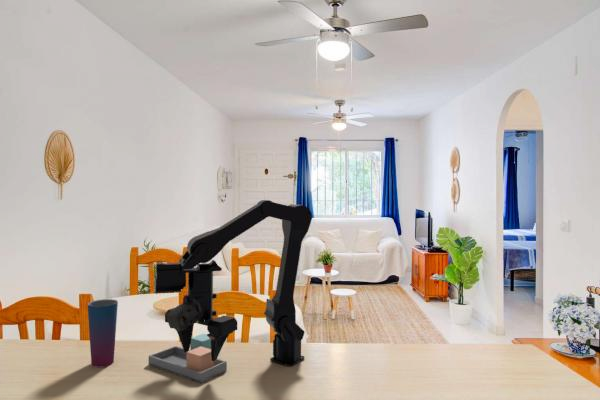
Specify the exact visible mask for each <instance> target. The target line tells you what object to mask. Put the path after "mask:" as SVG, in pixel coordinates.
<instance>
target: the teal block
mask: <svg viewBox="0 0 600 400" xmlns="http://www.w3.org/2000/svg"><path fill="white" fill-rule="evenodd" d="M207 334H208V333H201V334H197V335H196V336H192V338H191V344H190V348H189V350H193V349H195V348H198V347H200V346H201V347H205V348H208V349H211V339H210V338H209V337H208V336H207Z"/></svg>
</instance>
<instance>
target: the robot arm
mask: <svg viewBox="0 0 600 400" xmlns="http://www.w3.org/2000/svg"><path fill="white" fill-rule="evenodd" d="M268 217H270V218H273V219H278V220H281V222H282V223H281V227H282V232H283V245H282V251H281V256H280V257H281V258H280V264H279V271H278V275H277V277H278V278H277V282H276V288H275V289H276V290H275V292H274V295H273V297H272V299H269V298H267V299H266V301H265V310H264V312H263V314H264V316H265V320H266V323H268V325H269V326H270V327H271V328H272V330H273V332H274V333H275V334H274V335H273V338H274V339H273V340H272V355H273V356H272V357H271V358H270V359H269V360H270V361H271V362H274V363H278V364H282V365H284V366H285V365H286V366H289V367H292V366H294V365H297V364H298V363H299V362H300V361H303V360H304V359H305V356H304V355H302V340H303V338H304V335H305V330H304V329H302V327H300V326H299V325H298V324H297V323H296V322H297V321H296V318H297V317H296V315H297V313H296V311H297V310H296V305H295V300H294V295H295V294H294V293H295V287H296V281H297V275H298V268H299V262H300V255H301V250H302V243H303V240H304V239H305V237H306V235H307V233H308V232H309V228H310V226H311V224H312V220H313V213H312V211H311V210H310V208H309V207H307V206H306V205H301V204H289V205H285V204H282V203H277V202H273V201H272V200H269V199H262V200H259V201H258V202H257V204H254V205H253V206H252V207H250V208H249V209H247V210H245V211H244V212H242V213H240V214H239V215H237V216H236V217H234V218H232V219H231V220H229V221H227V222H226V223H224V224H223V225H221V226H219V227H217V228H215V229H211V230H210V231H206V232H203V233H201V234H198V235H196V236H193V237H192V238H191V239H189V241H188V242H187V245H186V251H185V252H184V254H183V255H182V256H181V258H180V259H179V260H178V262H168V263H167V262H166V263H165V262H156V263H155V273H154V274H155V275H154V276H153V277H154V283H153V285H154V294H169V293H180V292H182V290H184V288H186V287H187V294H185V295H183V298H182V303H181V304H180V305H179V304H178V305H176V307H173V308H169V309H167V311H166V312H165V314H164V322H165V323H168V326H169V328H170V329H174V330H175V331H176V333H177V335H178V338H179V340H180V344H181V348H183V350H184V352H185V353H186V352H188V351H189V350H190V348H191V338H192V337H193V330H194V326H195V325H194V324H198V325H203V326H207V327H206V328H207V332H208V333H206V334H207V336H208V337H209V338H210V339H211V357H212V361H215V360H216V359H218V357H219V355H220V353H221V351H222V349H223V346H224V344H225V342H226V341H227V339H228V337H229V336H230V334H233V333H234V332H235V331H237V330H238V320H237V318H235V317H232V316H228V315H221V316H218V317H214V316H217V310H215V309H213V307H214V305H213V302H214V299H217V293H214V272H219V271H220V272H221V271H222V270H223V269H222V267H221V266H220V265H218V263H217V262H216V261H215V260H214V258H215V257H216V256H217V255H218V254H219V253H220V252H221V251H222V250H223V249H224V248H225V246H226V245H228V243H230V242H231V241H232V240H235V238H237V237H238V236H240V235H242V234H243V233H245V232H246V231H248V230H250V229H251V228H253V227H255V226H256V225H257V224H259V223H260V222H262V221H264V220H265V219H267V218H268ZM187 280H188V281H187ZM213 317H214V318H213Z"/></svg>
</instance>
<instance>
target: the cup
mask: <svg viewBox="0 0 600 400" xmlns="http://www.w3.org/2000/svg"><path fill="white" fill-rule="evenodd" d="M118 305H119V301H118V300H117V299H111V298H110V299H108V298H107V299H106V298H104V299H96V300H92V301H89V302H88V303H87V314H88V315H87V318H88V330H89V331H88V332H89V335H88V336H89V349H90V362H91V366H92V367H93V368H94V367H95V368H103V367H108V366H110V365H113V363H114V362H115V347H116V335H117V334H116V333H117V320H118V319H117V318H118V307H119V306H118Z"/></svg>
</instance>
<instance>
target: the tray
mask: <svg viewBox="0 0 600 400" xmlns="http://www.w3.org/2000/svg"><path fill="white" fill-rule="evenodd" d="M189 351H190V349H189ZM227 363H228V362H227V361H226V360H223V359H219V358H217V359H216V360H215V361H214V366H213V367H211V368H209V369H206V370H204V371H202V372H199V371H196V370H193V369H190V368H187V352H186V353H185V352H184V350H183V347H182V346H181V347H180V346H177V345H174V346H171V347H169V348H167V349H163V350H161V351H157V352H156V353H152V354H149V355H148V365H149V366H151V367H152V368H153V367H154V368H157V369H159V370H162V371H165V372H168V373H171V374H173V375H176V376H179V377H182V378H185V379H186V380H191V381H193V382H195V383H196V382H197V383H199V384H202V383H204V382H206V381H208V380H211V379H212V378H214V377H216V376H218V375H221V374H224V373H225V372H226V371H227V367H228V366H227V365H228V364H227Z"/></svg>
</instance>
